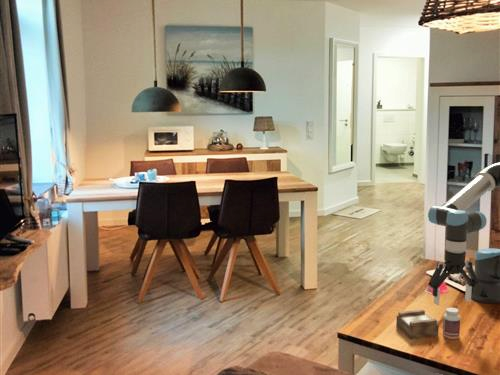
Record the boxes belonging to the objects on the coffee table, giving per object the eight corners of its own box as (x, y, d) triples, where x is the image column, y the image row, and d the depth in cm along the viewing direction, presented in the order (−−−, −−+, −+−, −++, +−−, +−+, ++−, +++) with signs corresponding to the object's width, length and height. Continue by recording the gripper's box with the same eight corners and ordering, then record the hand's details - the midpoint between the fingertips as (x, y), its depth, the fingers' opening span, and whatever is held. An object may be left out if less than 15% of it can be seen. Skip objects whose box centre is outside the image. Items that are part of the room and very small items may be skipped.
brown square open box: (422, 323, 226) (423, 309, 225) (438, 336, 214) (438, 320, 213) (396, 326, 224) (396, 311, 222) (410, 339, 212) (410, 323, 211)
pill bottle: (462, 338, 212) (464, 312, 210) (448, 340, 211) (449, 313, 209) (453, 331, 218) (454, 306, 216) (439, 333, 217) (440, 307, 215)
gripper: (478, 245, 214) (475, 296, 218) (420, 249, 209) (418, 301, 213) (490, 251, 207) (486, 303, 210) (430, 255, 202) (428, 308, 206)
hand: (452, 302), depth 212 cm, fingers open, 13 cm apart
